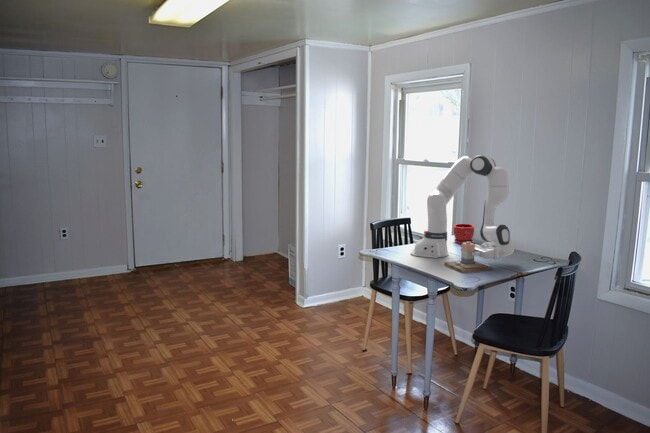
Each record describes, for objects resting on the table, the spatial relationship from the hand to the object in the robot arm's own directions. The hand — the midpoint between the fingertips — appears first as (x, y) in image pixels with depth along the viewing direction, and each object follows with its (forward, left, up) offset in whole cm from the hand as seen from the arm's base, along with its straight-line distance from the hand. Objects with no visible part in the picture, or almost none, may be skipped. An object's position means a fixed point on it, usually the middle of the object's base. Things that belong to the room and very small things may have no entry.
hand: (466, 252), depth 283 cm
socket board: (+1, 0, -9) cm, 9 cm away
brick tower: (+1, 0, -7) cm, 7 cm away
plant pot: (+1, +64, -9) cm, 64 cm away
